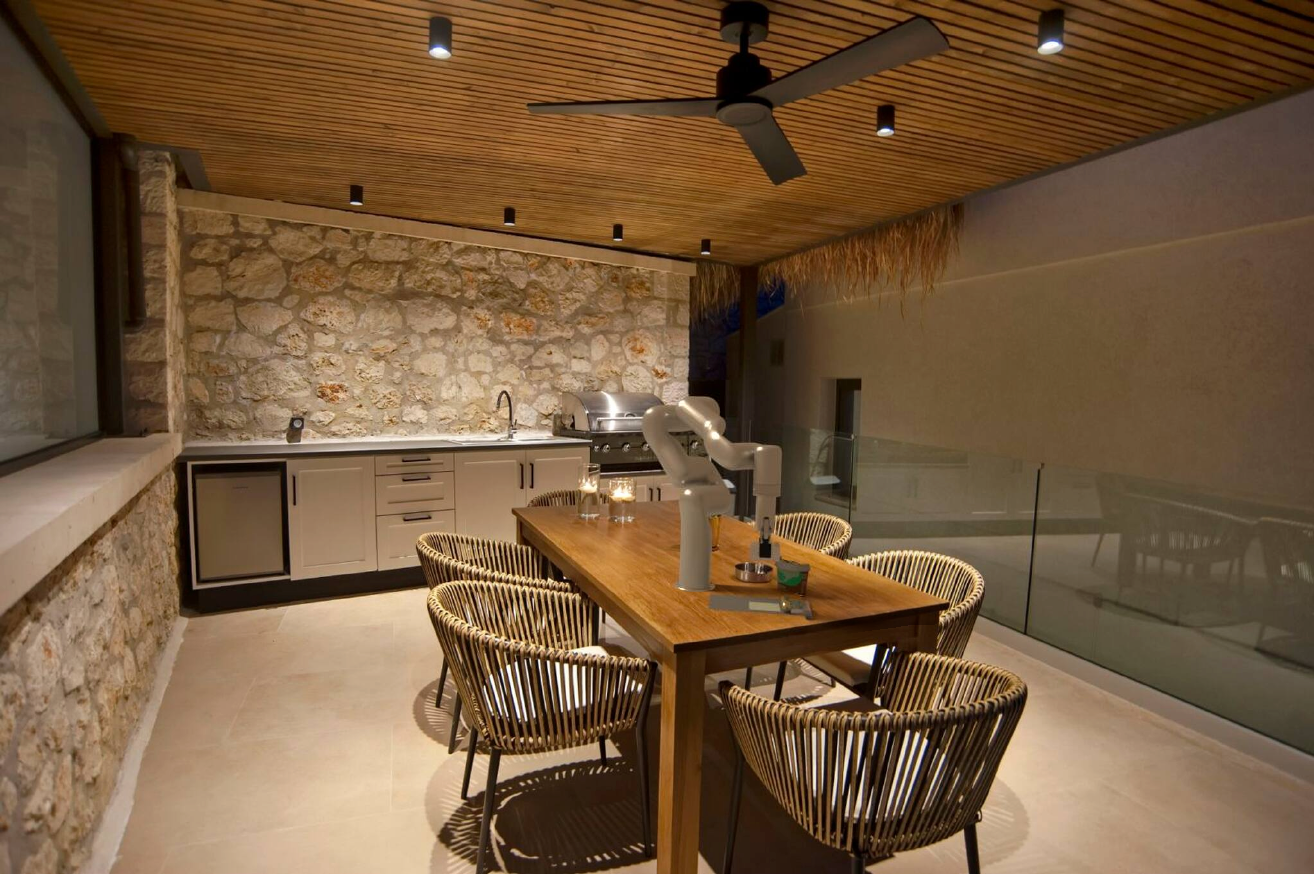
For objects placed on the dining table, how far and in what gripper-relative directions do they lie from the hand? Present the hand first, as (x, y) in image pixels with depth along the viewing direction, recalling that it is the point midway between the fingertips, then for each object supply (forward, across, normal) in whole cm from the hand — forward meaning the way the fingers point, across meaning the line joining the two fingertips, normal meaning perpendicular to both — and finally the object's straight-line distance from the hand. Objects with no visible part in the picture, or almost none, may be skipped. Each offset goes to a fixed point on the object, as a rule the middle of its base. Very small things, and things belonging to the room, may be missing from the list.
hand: (764, 554), depth 195 cm
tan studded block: (+1, 0, 0) cm, 1 cm away
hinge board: (+16, -3, -1) cm, 16 cm away
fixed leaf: (+15, -1, +9) cm, 18 cm away
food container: (+16, -20, +8) cm, 27 cm away
